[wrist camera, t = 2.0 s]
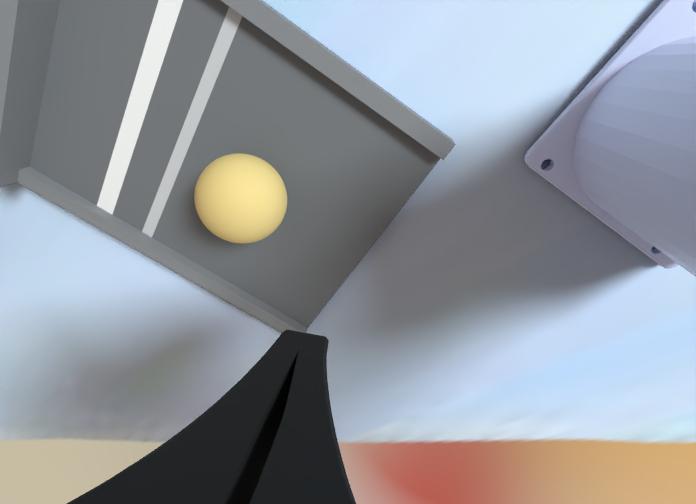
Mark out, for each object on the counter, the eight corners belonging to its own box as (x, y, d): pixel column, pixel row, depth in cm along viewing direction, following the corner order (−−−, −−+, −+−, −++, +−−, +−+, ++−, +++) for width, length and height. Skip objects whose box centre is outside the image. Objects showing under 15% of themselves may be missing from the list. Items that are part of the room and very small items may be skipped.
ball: (311, 176, 18) (289, 204, 14) (274, 236, 19) (247, 275, 16) (238, 127, 17) (196, 145, 13) (206, 195, 19) (162, 225, 15)
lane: (451, 139, 17) (460, 151, 14) (303, 329, 23) (293, 357, 21) (75, -136, 14) (14, -174, 12) (23, 167, 20) (-24, 180, 18)
